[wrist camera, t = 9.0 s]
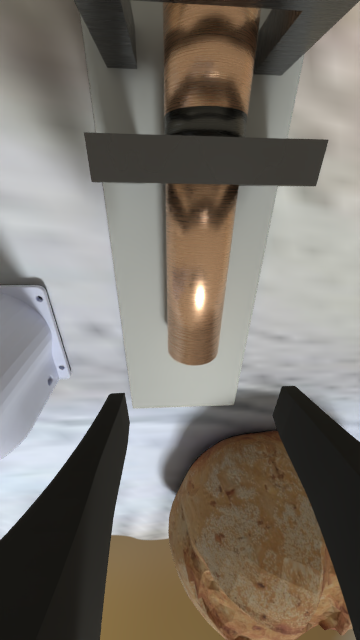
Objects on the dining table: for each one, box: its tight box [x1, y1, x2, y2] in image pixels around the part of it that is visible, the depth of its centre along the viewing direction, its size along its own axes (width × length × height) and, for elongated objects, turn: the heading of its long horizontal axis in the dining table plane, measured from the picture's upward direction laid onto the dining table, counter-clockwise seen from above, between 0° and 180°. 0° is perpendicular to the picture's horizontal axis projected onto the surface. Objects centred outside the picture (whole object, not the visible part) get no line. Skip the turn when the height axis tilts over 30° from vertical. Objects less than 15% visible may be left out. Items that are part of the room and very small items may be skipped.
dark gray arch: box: [84, 132, 328, 186], centre depth 11 cm, size 2×9×6 cm, turn 89°
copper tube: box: [163, 2, 261, 366], centre depth 14 cm, size 18×4×4 cm, turn 179°
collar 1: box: [74, 0, 360, 76], centre depth 9 cm, size 2×9×6 cm, turn 89°
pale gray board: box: [80, 0, 304, 408], centre depth 18 cm, size 29×11×1 cm, turn 179°
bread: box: [169, 431, 353, 640], centre depth 28 cm, size 26×23×15 cm
